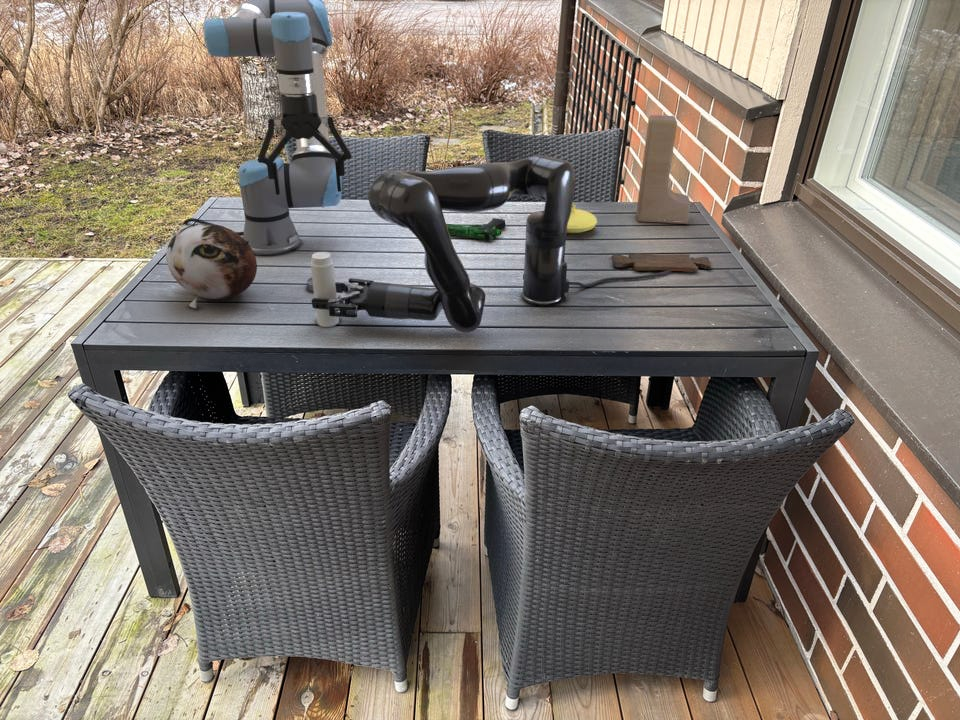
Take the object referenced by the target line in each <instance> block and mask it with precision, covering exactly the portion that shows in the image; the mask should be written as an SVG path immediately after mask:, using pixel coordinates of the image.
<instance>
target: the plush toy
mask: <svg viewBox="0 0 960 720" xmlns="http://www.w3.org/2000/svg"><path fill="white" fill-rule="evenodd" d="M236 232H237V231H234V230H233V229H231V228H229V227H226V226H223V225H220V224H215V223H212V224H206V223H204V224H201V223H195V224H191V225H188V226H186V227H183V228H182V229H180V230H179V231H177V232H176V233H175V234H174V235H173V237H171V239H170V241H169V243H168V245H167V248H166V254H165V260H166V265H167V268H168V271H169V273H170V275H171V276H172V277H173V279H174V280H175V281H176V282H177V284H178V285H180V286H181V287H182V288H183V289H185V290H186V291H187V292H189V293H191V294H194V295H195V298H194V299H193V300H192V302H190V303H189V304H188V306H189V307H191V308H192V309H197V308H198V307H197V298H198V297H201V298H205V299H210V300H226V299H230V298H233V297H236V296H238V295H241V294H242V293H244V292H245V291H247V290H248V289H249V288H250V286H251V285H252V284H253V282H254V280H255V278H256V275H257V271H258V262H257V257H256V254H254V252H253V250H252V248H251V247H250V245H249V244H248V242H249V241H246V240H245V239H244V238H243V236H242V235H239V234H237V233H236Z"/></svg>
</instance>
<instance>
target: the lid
mask: <svg viewBox="0 0 960 720" xmlns="http://www.w3.org/2000/svg"><path fill="white" fill-rule="evenodd" d="M306 289H307V290H308V291H309V292H311V293H314V289H313V281H312V277H310V278H308V279H307V281H306Z"/></svg>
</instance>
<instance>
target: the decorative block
mask: <svg viewBox="0 0 960 720" xmlns="http://www.w3.org/2000/svg"><path fill="white" fill-rule="evenodd" d="M677 127H678V121H677V119H676V117H675V116H674V115H659V114H651V115H649V116H648V121H647V128H646V136H645V143H644V151H643V160H642V167H641V175H640V181H639V182H640V183H639V190H638V191H639V192H638V195H637V196H638V197H637V205H636V212H635V213H636V218H637V219H636V220H637V221H638V222H645V223H646V222H647V223H648V222H649V223H664V224H678V225H679V224H680V225H681V224H682V225H686V224H688V222H689V219H690V212H691V207H692V203H691V200H690V198H689V195H688V194H683V193H680V192H679V193H678V192H674V191H673V190H672V189H671V188H670V186H669V181H670V174H671V167H672V160H673V154H674V147H675V140H676V134H677ZM659 220H660V221H659ZM664 220H665V221H664ZM674 221H682V222H674ZM683 221H684V222H683Z"/></svg>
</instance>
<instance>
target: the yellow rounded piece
mask: <svg viewBox="0 0 960 720" xmlns="http://www.w3.org/2000/svg"><path fill="white" fill-rule="evenodd" d="M597 223H598V219H597V217H596V215H595V214H593V213H591V212H589V211H587V210H584V209H578V208H576V205H575V204H572V209H571V215H570V218H569V221H568V224H567V233H566V234H580V233H584V232H585V233H586V232H587V231H591V230H592V229H594V228H596V226H597Z"/></svg>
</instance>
